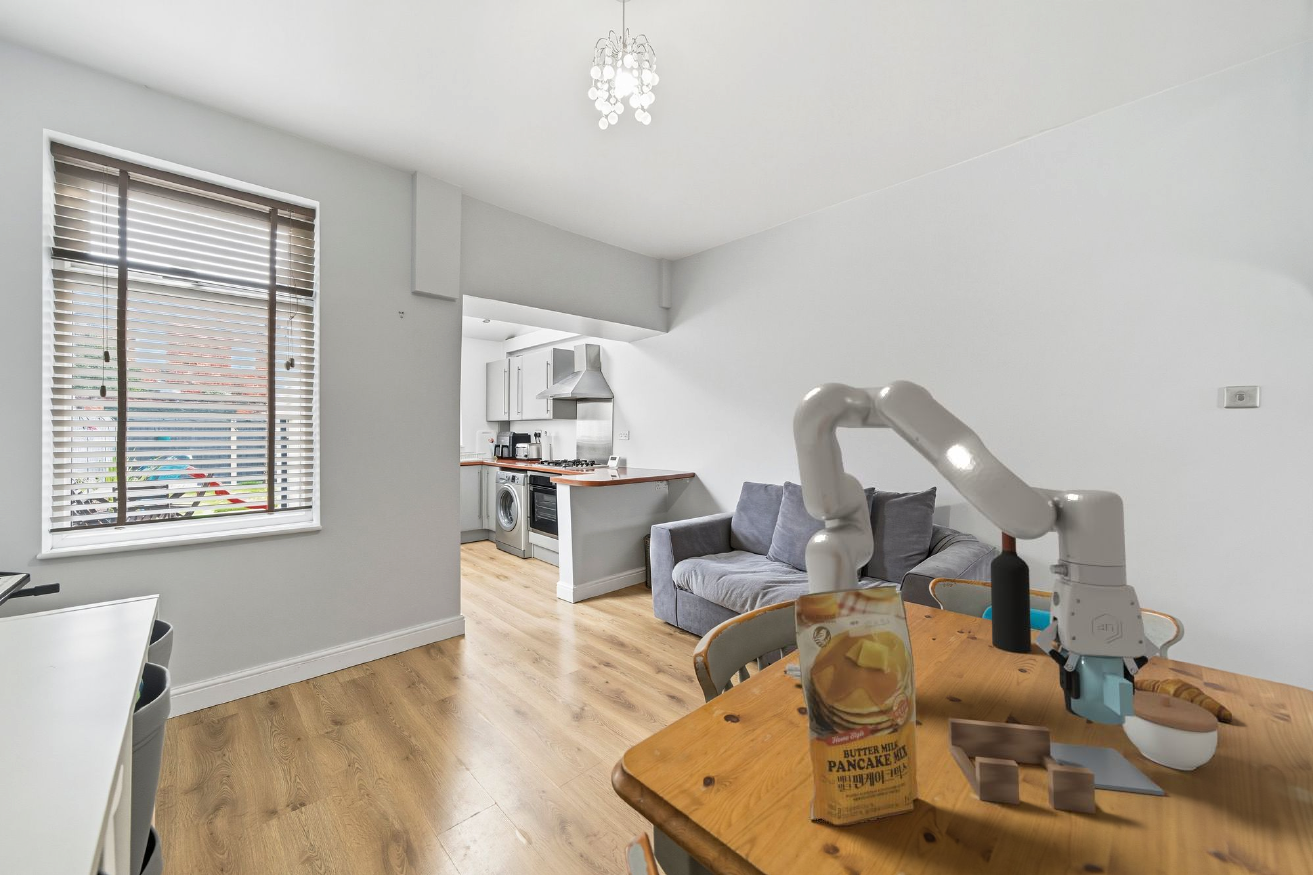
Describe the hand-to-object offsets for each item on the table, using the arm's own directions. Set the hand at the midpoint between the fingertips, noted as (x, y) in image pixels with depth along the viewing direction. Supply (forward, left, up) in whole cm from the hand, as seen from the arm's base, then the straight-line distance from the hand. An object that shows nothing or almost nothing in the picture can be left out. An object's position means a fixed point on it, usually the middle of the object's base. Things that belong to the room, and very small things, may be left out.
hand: (1096, 695), depth 74 cm
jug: (0, -2, -3) cm, 3 cm away
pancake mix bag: (-36, -15, -11) cm, 40 cm away
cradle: (-13, -5, -11) cm, 18 cm away
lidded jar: (+12, +5, -11) cm, 17 cm away
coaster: (0, 0, -11) cm, 11 cm away
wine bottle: (+10, +49, -11) cm, 51 cm away
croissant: (+27, +24, -11) cm, 38 cm away
